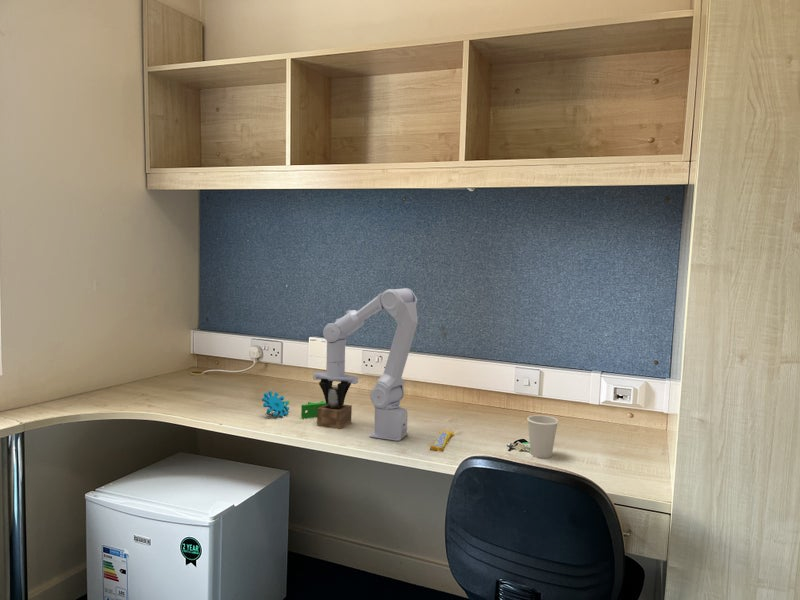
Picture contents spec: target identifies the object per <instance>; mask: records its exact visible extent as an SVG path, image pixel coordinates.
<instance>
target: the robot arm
mask: <svg viewBox="0 0 800 600" xmlns="http://www.w3.org/2000/svg"><path fill="white" fill-rule="evenodd" d="M417 304H418V298H417V296H416V295H415V293H414V291H413V290H412V289H411V288H407V287H403V288H394V289H392V288H389V289H386V290H384V291H383V292H381V293H378V295H377V296H376V297H374V298H373V299H372V300H370V301H369V302H368V303H366V304H365V305H364V306H362V307H361V308H360V309H359V310H355V309H352V310H351V309H349V310H347V311H345V315H344V316H341V317H340V318H336V319H335V322H331V323H326V325H325V326H324V328H323V330H322V331H323V332H322V333H323V334H322V335H323V338H324V340H325V341H326V366H325V368H326V372H318V371H317V372H314V373H313V375H312V376H313V377H312V379H313V380H315V381H316V380H320V381H319V382H318V384H319V387H320V389H321V390H322V393H323V396H324V402H325V403H326V404H328V388H329V387H333V382H338V383H337V386H336V387H338V391H339V406H341V405H343V404H345V400H346V396H347V393H348V391H349V389H350V387H351V386H352V384H353V385H356V384H358V383H359V377H358V376H355V375H349V374H346V370H345V369H346V345H347V340H348V338H349V337H350V335H351V334H353V333H354V332H356V331H357V330H358V329H360V328H362V327H364V324H365V320H367V319H369V318H370V317H371V316H373V315H375V314H376V313H378V312H380V311H382V310H385V311H386V312H387V313H388V314H389V315H390V316H391V317H392V318H393V319H394V320H395V322H396V323H397V324H396V325H397V326H396V328H395V332H394V336H393V339H392V343H391V346H390V350H389V353H388V356H387V360H386V364H385V367H384V371H383V374H382V375H380V377H378V379H377V380H376V383H375V386H374V387H373V388H372V390H371V391H370V400H371V403H372V405H373V407H374V425H373V426H374V427H373V428H374V429H373V432H371V433H370V434H369V438H376V439H380V440H381V439H383V440H388V441H389V440H390V441H396V442H398V441H399V442H400V441H401V440H402V439H404V437H406V435H408V434H409V433H408V409H407V408H405V407H401V406H400V403H401V401H402V400H403V398H404V396H405V390H404V388H405V387H404V385H405V382H406V381H405V380H404V379H403V378H402V377H403V373H404V370H405V368H406V363H407V360H408V357H409V353H410V349H411V346H412V343H413V339H414V336H415V333H416V331H417V328H418V323H419V319H418V312H417Z"/></svg>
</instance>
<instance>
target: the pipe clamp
mask: <svg viewBox="0 0 800 600" xmlns="http://www.w3.org/2000/svg"><path fill="white" fill-rule="evenodd" d="M325 404H326V401H325V400H321V401H320V402H311V401H308V402H307V403H306V404H301V405H300V406H301V409H300V411H301V414H300V415H301V419H303V420H304V418H305V419H313V418H314V417H315V418H317V408H319V407H321V406H323V405H325Z"/></svg>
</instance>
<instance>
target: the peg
mask: <svg viewBox="0 0 800 600" xmlns="http://www.w3.org/2000/svg"><path fill="white" fill-rule="evenodd" d="M328 409H336V410H339V409H341V406H339V391H338V386H332V387H329V388H328Z"/></svg>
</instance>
